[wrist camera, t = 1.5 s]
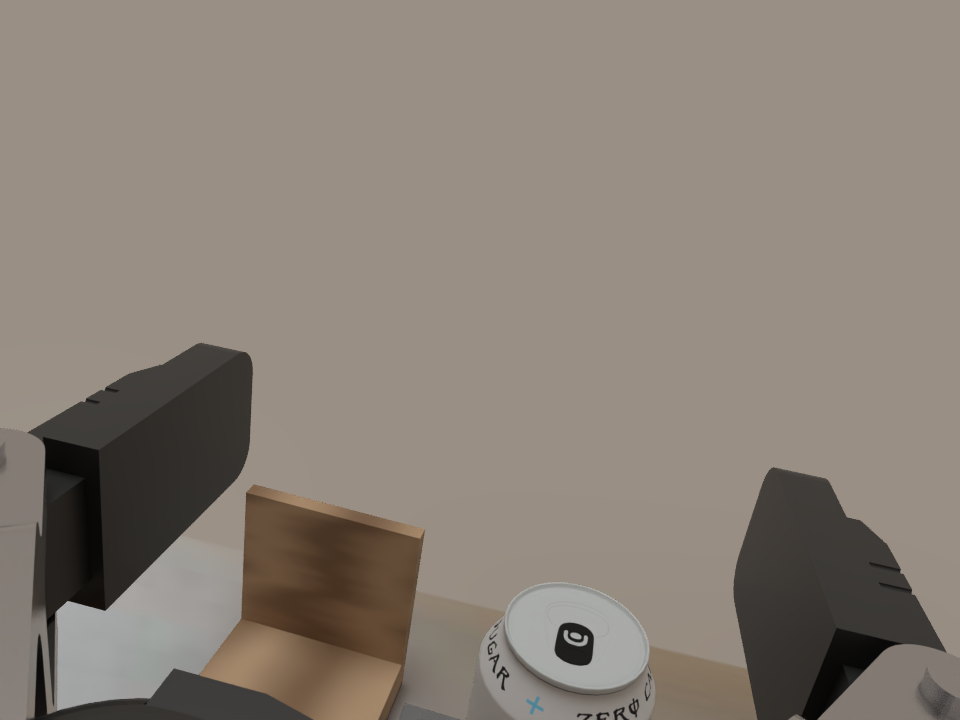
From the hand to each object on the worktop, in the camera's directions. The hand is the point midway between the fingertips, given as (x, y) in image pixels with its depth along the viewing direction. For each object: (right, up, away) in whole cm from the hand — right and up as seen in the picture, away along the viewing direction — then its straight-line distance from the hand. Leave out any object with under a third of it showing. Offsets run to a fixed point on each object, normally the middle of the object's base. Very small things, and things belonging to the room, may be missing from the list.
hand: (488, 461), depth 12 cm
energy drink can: (+1, -21, +19) cm, 29 cm away
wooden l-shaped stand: (-10, -16, +26) cm, 32 cm away
